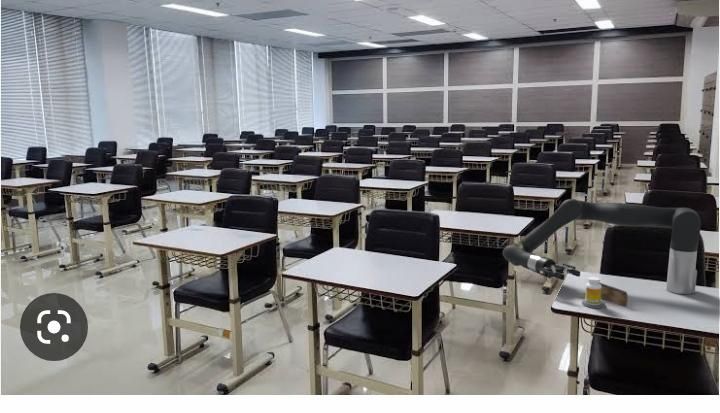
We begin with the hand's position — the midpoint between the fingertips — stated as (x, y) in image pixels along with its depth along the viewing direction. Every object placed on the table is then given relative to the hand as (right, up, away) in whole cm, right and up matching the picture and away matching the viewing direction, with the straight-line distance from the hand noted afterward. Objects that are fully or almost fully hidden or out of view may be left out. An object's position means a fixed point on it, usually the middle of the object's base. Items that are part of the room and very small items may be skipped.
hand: (571, 275), depth 212 cm
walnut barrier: (+13, -9, -4) cm, 16 cm away
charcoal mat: (+5, -10, -8) cm, 14 cm away
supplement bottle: (+5, -9, -8) cm, 13 cm away
